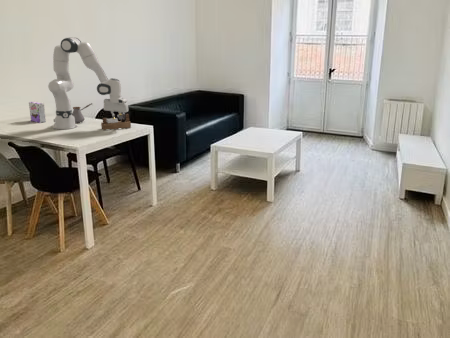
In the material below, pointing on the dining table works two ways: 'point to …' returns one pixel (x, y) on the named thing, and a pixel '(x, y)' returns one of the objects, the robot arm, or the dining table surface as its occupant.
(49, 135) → the dining table surface
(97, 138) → the dining table surface
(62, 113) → the robot arm
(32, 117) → the candy box
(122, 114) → the lever
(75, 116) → the coffee pot
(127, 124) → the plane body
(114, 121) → the cap
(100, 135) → the dining table surface
